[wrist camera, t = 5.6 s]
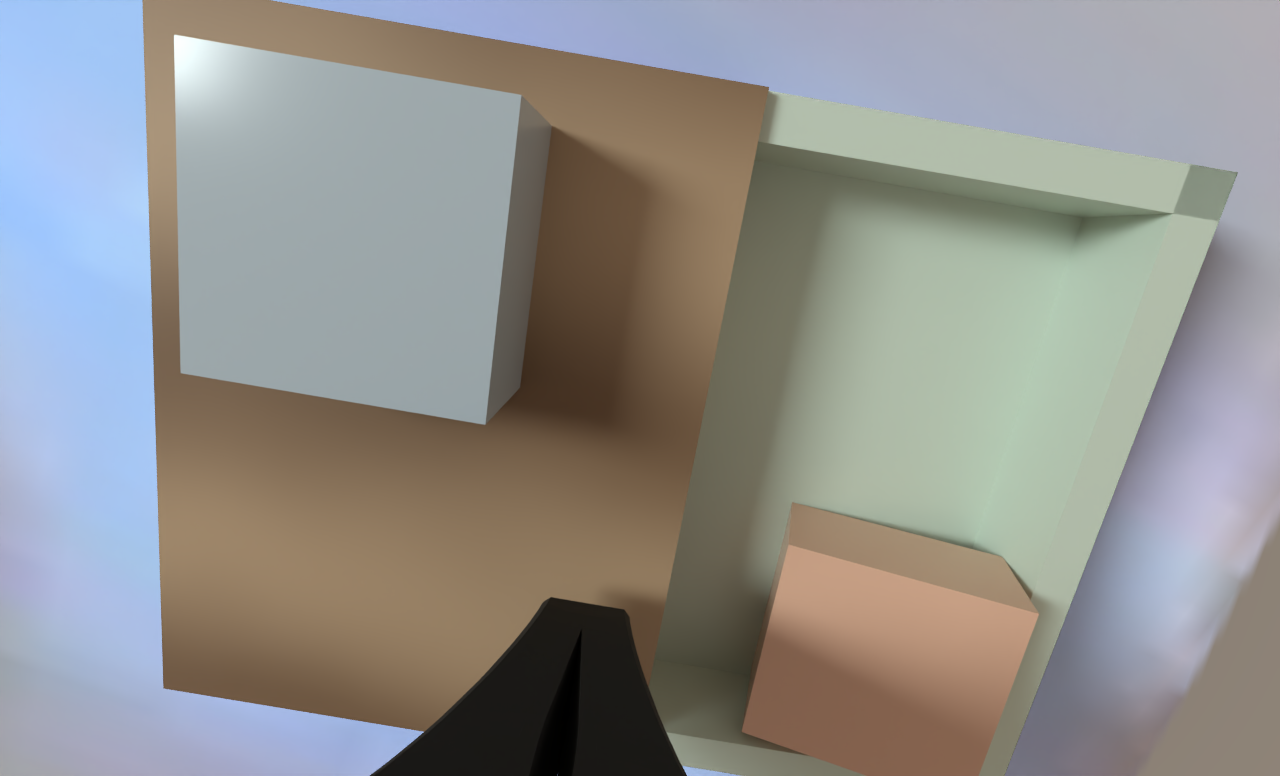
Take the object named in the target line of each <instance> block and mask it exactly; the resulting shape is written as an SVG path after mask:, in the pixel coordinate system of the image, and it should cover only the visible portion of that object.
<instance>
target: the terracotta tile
mask: <svg viewBox="0 0 1280 776" xmlns="http://www.w3.org/2000/svg"><path fill="white" fill-rule="evenodd" d="M1038 616H1039V613H1038V611H1037V610H1036V608H1035V607H1034V605H1033V604H1032V602H1031V600H1030V599H1029V597H1028V596H1027V594H1026V593H1025V591H1024V590H1023V588H1022V586H1021V585H1020V583H1019V582H1018V580H1017V579H1016V577H1015V576H1014V574H1013V573H1012V571H1011V569H1010V568H1009V566H1008V565H1007V563H1006V562H1005V560H1004V559H1003V557H1001V556H997V555H993V554H989V553H985V552H981V551H978V550H974V549H970V548H966V547H962V546H958V545H955V544H951V543H947V542H943V541H939V540H935V539H932V538H928V537H924V536H920V535H916V534H912V533H909V532H905V531H901V530H897V529H893V528H889V527H886V526H882V525H878V524H874V523H870V522H866V521H863V520H859V519H855V518H851V517H847V516H843V515H840V514H836V513H832V512H828V511H824V510H820V509H817V508H813V507H809V506H805V505H801V504H797V503H794V502H792V505H791V509H790V513H789V517H788V521H787V525H786V529H785V533H784V537H783V541H782V545H781V549H780V553H779V557H778V561H777V565H776V569H775V573H774V577H773V581H772V585H771V589H770V593H769V597H768V601H767V605H766V610H765V614H764V618H763V622H762V626H761V630H760V634H759V638H758V642H757V646H756V650H755V654H754V658H753V662H752V666H751V672H750V679H749V686H748V692H747V699H746V706H745V712H744V719H743V725H742V732H743V733H746V734H749V735H752V736H755V737H758V738H760V739H763V740H766V741H769V742H772V743H775V744H777V745H780V746H783V747H786V748H789V749H792V750H795V751H797V752H800V753H803V754H806V755H809V756H812V757H815V758H817V759H820V760H823V761H826V762H829V763H832V764H834V765H837V766H840V767H843V768H846V769H849V770H852V771H854V772H857V773H860V774H863V775H866V776H979V773H980V771H981V768H982V765H983V763H984V760H985V757H986V755H987V752H988V749H989V747H990V744H991V741H992V739H993V736H994V733H995V731H996V728H997V725H998V723H999V720H1000V717H1001V715H1002V712H1003V709H1004V707H1005V704H1006V701H1007V699H1008V696H1009V693H1010V691H1011V688H1012V685H1013V683H1014V680H1015V677H1016V675H1017V672H1018V669H1019V667H1020V664H1021V661H1022V659H1023V656H1024V653H1025V651H1026V648H1027V645H1028V643H1029V640H1030V637H1031V635H1032V632H1033V629H1034V626H1035V624H1036V621H1037V618H1038Z"/></svg>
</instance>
